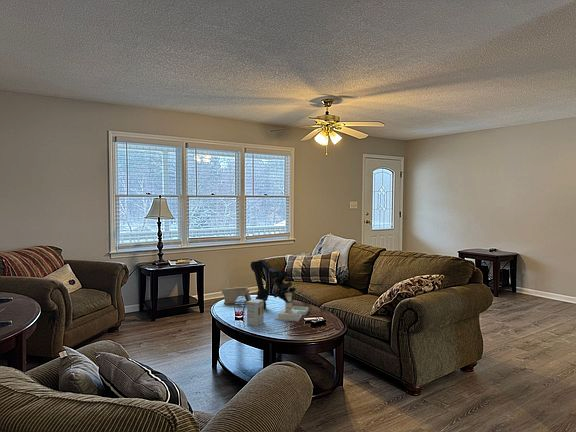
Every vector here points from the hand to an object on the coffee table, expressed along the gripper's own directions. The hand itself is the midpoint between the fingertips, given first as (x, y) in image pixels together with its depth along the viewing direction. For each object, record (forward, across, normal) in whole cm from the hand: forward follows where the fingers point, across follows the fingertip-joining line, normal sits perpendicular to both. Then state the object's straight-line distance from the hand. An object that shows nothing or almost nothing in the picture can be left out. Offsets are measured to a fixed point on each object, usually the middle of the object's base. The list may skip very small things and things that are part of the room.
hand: (289, 301), depth 298 cm
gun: (-33, -7, +52) cm, 62 cm away
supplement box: (+4, -27, +14) cm, 31 cm away
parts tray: (+5, +15, +13) cm, 21 cm away
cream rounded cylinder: (+4, 0, +6) cm, 7 cm away
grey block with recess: (+8, 0, +10) cm, 13 cm away
